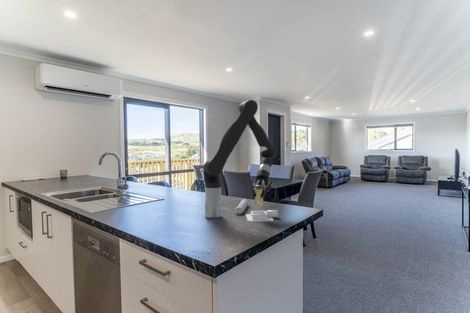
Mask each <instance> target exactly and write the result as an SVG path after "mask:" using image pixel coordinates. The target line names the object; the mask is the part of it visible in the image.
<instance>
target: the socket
mask: <svg viewBox="0 0 470 313" xmlns="http://www.w3.org/2000/svg"><path fill="white" fill-rule="evenodd" d="M278 217H279V212H278V209H272V210H269V209H268V210H250V213H246V214H245V218H246V220H247V222H248V223H251V222H252V223H256V222H257V223H258V222H259V223H260V222H261V223H262V222H274V221H275V220H274V218H278Z"/></svg>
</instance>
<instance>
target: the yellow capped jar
mask: <svg viewBox="0 0 470 313" xmlns="http://www.w3.org/2000/svg"><path fill="white" fill-rule="evenodd" d="M254 187H255V197H254V202H255V203H254V204H255V206H256V207H263V206H264V198H262V196H261V195H262V191H263V187H264V185H262V184H258V185H257V184H256V185H255V184H254V185H253V188H254Z"/></svg>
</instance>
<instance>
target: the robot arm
mask: <svg viewBox="0 0 470 313" xmlns="http://www.w3.org/2000/svg"><path fill="white" fill-rule="evenodd" d="M238 110H239V115H238V117H237V118H236V120H234V121H233V122H232V123H231V124H230V125H229V126H228V127H227V129H226V131H225V133H224V134H223V136H222V138H221V141H220V143H219V148H218V150H217V152H216V154H215V155H214V156H213V158H211V159H207V160H206V161H205V163H204V165H203V180H204V190H205V191H204V193H205V196H204V198H205V201H204V216H205V217H204V218H205V219H208V218H209V219H217V218H221V217H222V182H221V180H220V174H221V173H222V172H223V170H224V167H225V165H226V162H227V161H228V160H229V159H228V158H229V157H230V155H231V154H232V152H233V151H234V149H235V147H236V145H237V144H238V143H239V141H240V139H241V137H242V136H243V134H244V131H245V130H246V128H247V126H248V127H249V129H250V130H251V132H252V134H253V136H254V139H255V141H256V142H257V144H258V146H259V147H264V148H262V149H261V151H260V152H259V154H260V162H259V163H260V164H259V166H258V170H257V172H256V177H255V179H254V180H253V181H252V180H250V181H249V187H250V191H251V193H252V194H251V195H252V197H253V198H255V187H254V185H256V184H257V185H258V184H262V185H264V187H263V191H262V195H261V196H262V198H263V199H264V198H265V197H266V193H269V192H270V191H271V189H272V187H273V185H274V183H273V181H269V180H270V176H271V171H272V165H273V161H272V159H273V158H276V157H277V155H278V151H277V149H276V147H275V145H273V144H272V142H271V141H270V140H269V137H268V136H267V134H266V132H265V129H264V128H263V127H262V126H261V125H260V123H259V122H258V121H257V119H256V118H255V115H256V113H257V112H258V103H257V102H256V100H253V99H248V100H246V101H242V102H241V103H240V104H239V107H238Z"/></svg>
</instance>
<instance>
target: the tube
mask: <svg viewBox="0 0 470 313" xmlns="http://www.w3.org/2000/svg"><path fill="white" fill-rule="evenodd" d="M248 205H249V200H248V199H247V198H243V199H242V200H241V201H240V202H239V204H238V205H237V206H236V208H235V209H234V211H235V212H234V213H235V214H236V215H242V214H243V213H244V211H245V210H246V208H247V206H248Z"/></svg>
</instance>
